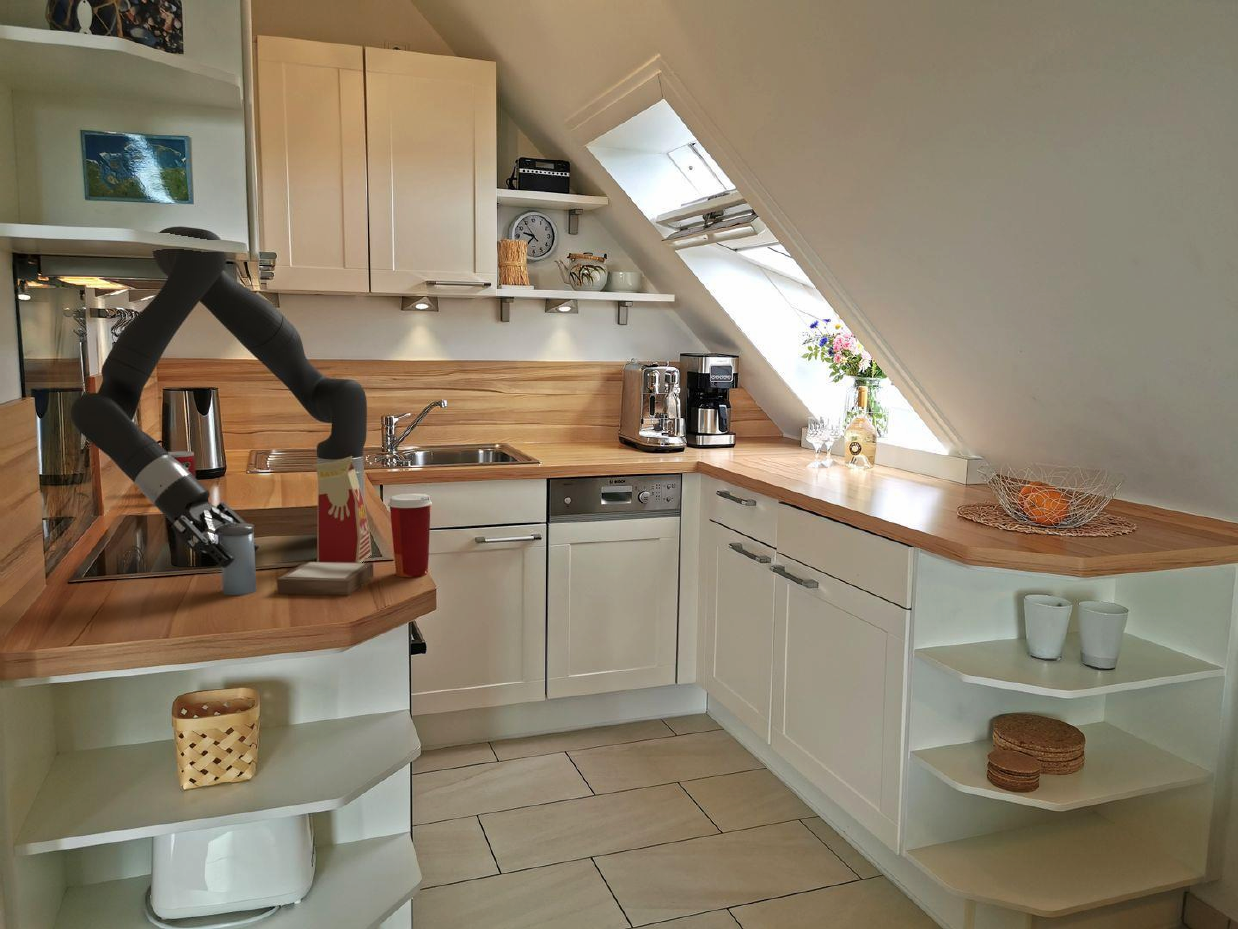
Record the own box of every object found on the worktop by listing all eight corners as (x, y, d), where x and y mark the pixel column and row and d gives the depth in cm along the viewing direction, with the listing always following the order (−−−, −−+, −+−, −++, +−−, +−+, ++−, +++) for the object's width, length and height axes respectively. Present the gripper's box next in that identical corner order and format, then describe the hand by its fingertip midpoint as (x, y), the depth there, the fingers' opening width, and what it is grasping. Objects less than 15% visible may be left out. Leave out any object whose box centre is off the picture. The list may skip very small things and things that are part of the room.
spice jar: (232, 586, 160) (228, 522, 158) (262, 587, 159) (259, 523, 158) (216, 595, 154) (212, 529, 153) (247, 596, 154) (244, 530, 152)
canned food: (158, 496, 246) (155, 454, 244) (173, 491, 254) (171, 451, 252) (187, 496, 246) (184, 455, 244) (201, 491, 254) (199, 451, 252)
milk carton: (371, 555, 182) (368, 452, 180) (360, 566, 173) (356, 459, 171) (324, 555, 182) (319, 452, 179) (310, 567, 173) (305, 459, 170)
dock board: (307, 575, 167) (306, 560, 167) (373, 576, 166) (372, 562, 166) (277, 593, 155) (276, 578, 155) (348, 595, 154) (347, 580, 154)
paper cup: (441, 570, 171) (440, 494, 169) (419, 580, 164) (417, 501, 162) (404, 566, 173) (402, 491, 171) (380, 576, 166) (378, 498, 164)
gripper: (162, 479, 148) (236, 552, 148) (209, 466, 162) (276, 533, 162) (132, 512, 149) (205, 584, 149) (181, 496, 163) (248, 562, 164)
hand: (242, 557), depth 156 cm, fingers open, 8 cm apart
